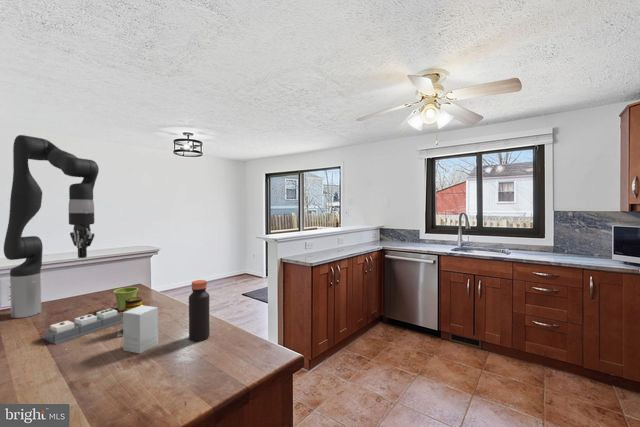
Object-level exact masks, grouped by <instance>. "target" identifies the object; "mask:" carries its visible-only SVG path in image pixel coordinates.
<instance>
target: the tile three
mask: <svg viewBox="0 0 640 427" xmlns="http://www.w3.org/2000/svg"><path fill="white" fill-rule="evenodd" d="M117 313H118V309H117V310H116V309H113V308H107V309H103V310H99V311H97V312H96V315H97V317H98V318H101V319H105V318H109V317H112V316H115V315H117Z"/></svg>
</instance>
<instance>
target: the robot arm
mask: <svg viewBox="0 0 640 427" xmlns="http://www.w3.org/2000/svg"><path fill="white" fill-rule="evenodd" d="M12 145H13V146H12V147H13V148H12V155H13V156H12V157H13V159H12V160H13V162H12V163H13V164H12V165H13V166H12V167H13V168H12V169H13V170H12V171H13V172H12V184H11V190H10V199H9V200H10V201H9V214H8V215H9V216H8V224H7V228H6V233H5V237H4V242H3V254H4V258H6V260H10V261H13V260H14V261H15V260H23V259H25V260H24V261H23V262H22V263H21V264H19V265H17V266H14V267H12V268H11V269H10V270H9V275H10V276H9V279H10V280H9V281H10V282H9V284H10V285H9V286H10V290H9V291H10V318H12V319H22V318H27V317H28V318H29V317H31V316H36V315H38V313H39V314H40V313H41V312H42V282H41V281H42V278H41V275H42V274H41V270H42V265H43V247H44V246H43V241H42V239H41V238H40V237H39V236H37V235H29V236H23V232H24V229H25V227H26V225H27V224H28V223H29V222H30V221H31V220H32V219H33V218H34V217H35V216H36V215H37V214H38V212H39V211H40V210H41V208H42V200H43V190H42V188H41V186H40V185H39V184H38V182H37V181H36V179H35V178H34V177H33V175H32V173H31V171H30V167H29V160H33V161H48V162H49V164H50V165H52V166H53V167H55V168H56V169H59V170H61V171H62V173H63V174H64V175H65V176H68V177H72V178H73V177H74V178H83V179H82V180H81V182H77V183H72V184H70V185H69V188H68V192H69V193H68V197H69V198H68V199H69V200H68V225H71V226H73V228H72V232H69V235H70V238H71V240H72V244H73V246H74V247H76V249H77V258H78V259H85V258H87V257H88V256H87V255H88V254H87V251H88V250H87V248H88V247H90V246H91V245H92V243H93V241H94V238H95V233H91V225H94V224H95V203H94V202H95V201H94V189H95V188H94V187H95V183H96V181H97V179H98V175H99V172H100V171H99V166H98V164H97V162H96V161H95V160H93V159H88V158H81V157H80V158H79V157H77V156H76V155H75V154H73V153H71V152H67V151H66V150H64V149H63V150H62V149H61V148H59V147H58V146H57V145H55V144H54V143H52V142H51V141H49V140H48V139H45V138H41V137H34V136H30V135H25V134H19V135H17V136H16V137H15V138H14V142H13V144H12Z"/></svg>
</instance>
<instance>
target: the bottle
mask: <svg viewBox="0 0 640 427" xmlns="http://www.w3.org/2000/svg"><path fill="white" fill-rule="evenodd" d="M207 285H208V283H207V280H206V279H198V280H194V281H192V282H191V291H192V293H190V295H189V296H188V339H189V341H191V342H201V340H202V341H205V340H207V339H208V338H209V337H210V294H209V292H207V291H206V290H207V288H208V286H207Z"/></svg>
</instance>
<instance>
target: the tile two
mask: <svg viewBox="0 0 640 427" xmlns="http://www.w3.org/2000/svg"><path fill="white" fill-rule="evenodd" d="M95 321H97V316H96V315H93V314H91V313H90V314H86V315H82V316H79V317H75V318H74V322H75V324H77V325H80V326H82V325H85V324H89V323H92V322H95Z"/></svg>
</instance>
